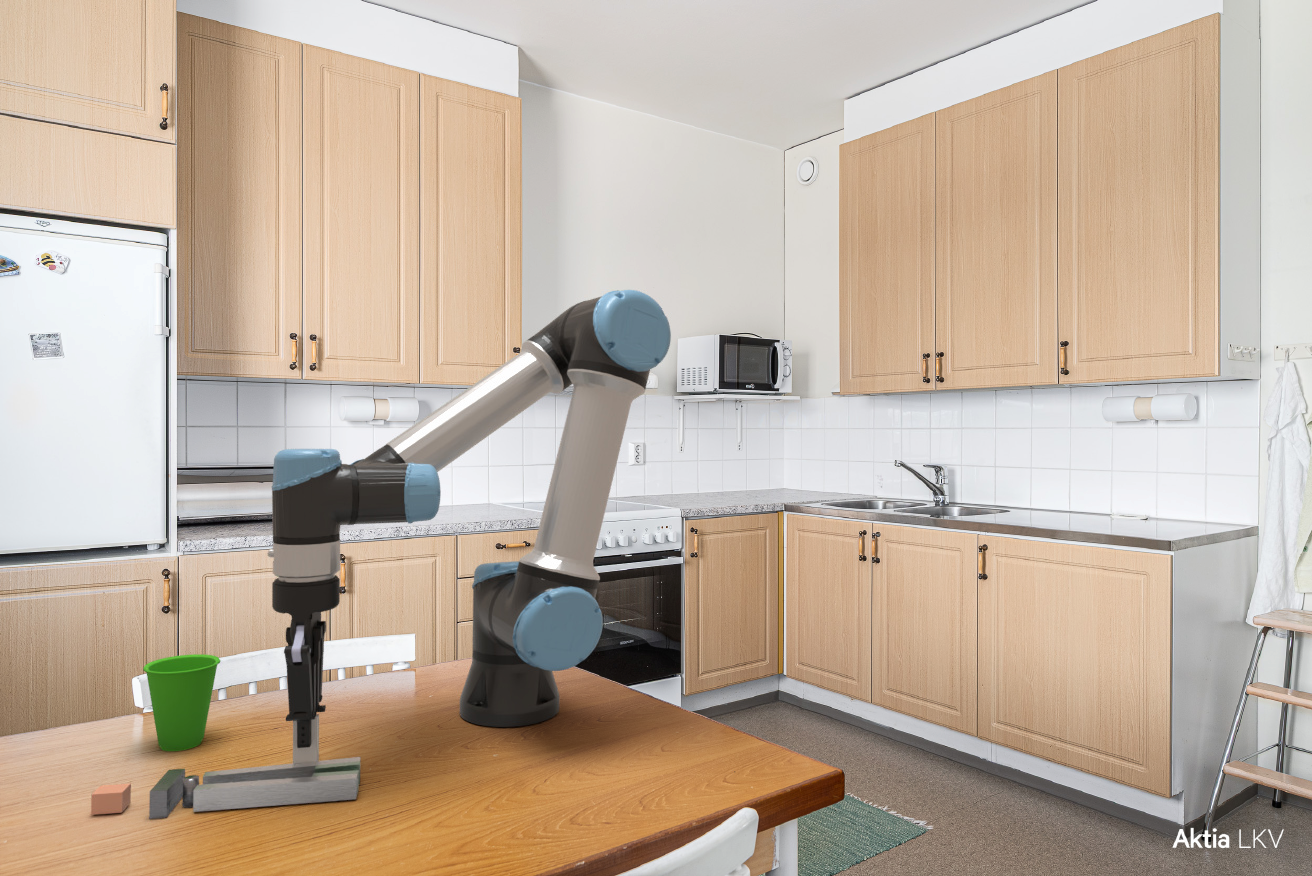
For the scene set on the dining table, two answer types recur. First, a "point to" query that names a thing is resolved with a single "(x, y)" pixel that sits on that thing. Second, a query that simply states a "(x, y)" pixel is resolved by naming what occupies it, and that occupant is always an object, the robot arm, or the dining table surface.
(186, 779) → the tongs base
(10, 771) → the dining table surface
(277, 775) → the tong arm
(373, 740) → the dining table surface
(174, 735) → the cup
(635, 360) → the robot arm
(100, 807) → the tab
